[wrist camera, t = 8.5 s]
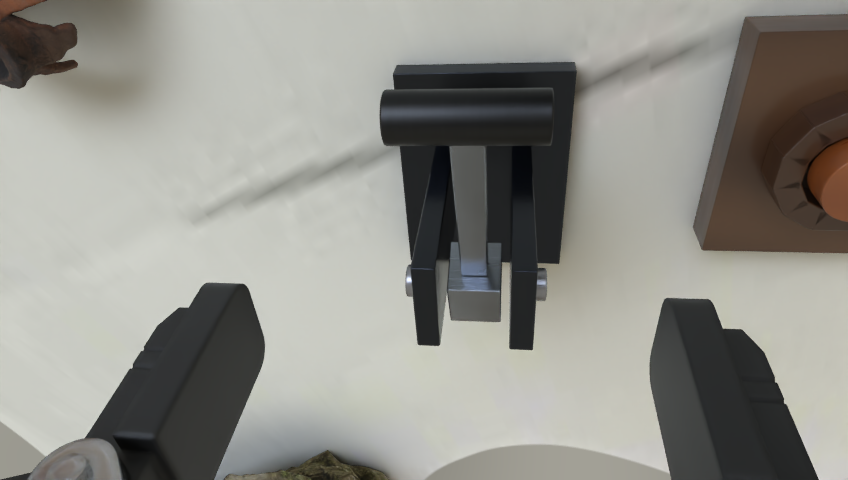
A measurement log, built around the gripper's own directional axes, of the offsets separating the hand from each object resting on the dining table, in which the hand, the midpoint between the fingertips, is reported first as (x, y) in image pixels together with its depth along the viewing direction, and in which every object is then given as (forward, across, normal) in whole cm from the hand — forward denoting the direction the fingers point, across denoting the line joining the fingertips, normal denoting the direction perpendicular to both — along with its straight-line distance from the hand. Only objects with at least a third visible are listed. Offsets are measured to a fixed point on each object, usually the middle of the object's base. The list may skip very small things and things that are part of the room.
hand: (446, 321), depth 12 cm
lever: (+11, 0, +4) cm, 12 cm away
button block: (+22, -17, +7) cm, 28 cm away
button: (+18, -17, +7) cm, 26 cm away
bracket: (+22, 0, +9) cm, 23 cm away
